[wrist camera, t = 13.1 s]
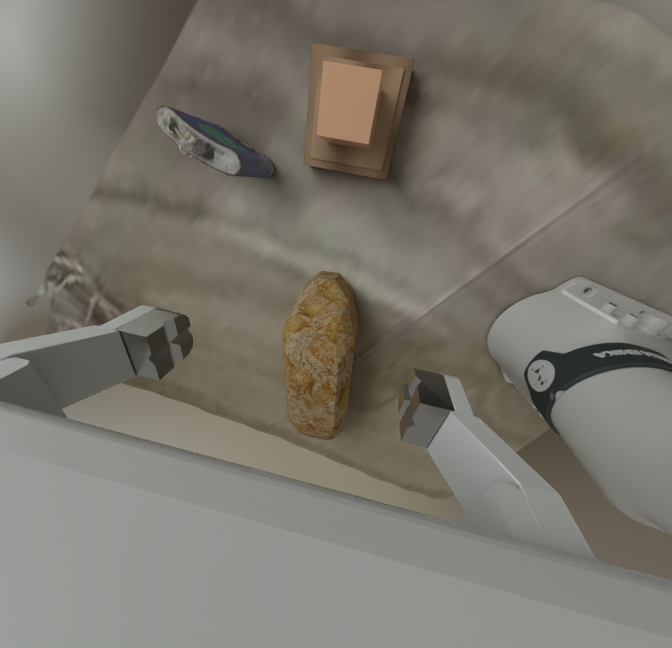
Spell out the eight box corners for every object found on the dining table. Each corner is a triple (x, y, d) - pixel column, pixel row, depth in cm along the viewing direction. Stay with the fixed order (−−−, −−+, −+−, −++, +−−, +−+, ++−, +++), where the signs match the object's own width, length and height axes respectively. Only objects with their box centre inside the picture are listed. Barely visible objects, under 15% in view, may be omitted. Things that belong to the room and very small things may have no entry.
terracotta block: (382, 89, 24) (382, 70, 20) (370, 150, 27) (368, 144, 23) (333, 81, 25) (323, 60, 20) (327, 142, 27) (316, 135, 23)
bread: (295, 267, 38) (270, 291, 30) (363, 275, 37) (358, 302, 29) (299, 416, 57) (284, 458, 48) (345, 425, 56) (339, 469, 47)
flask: (277, 162, 31) (234, 155, 22) (269, 185, 33) (225, 186, 24) (212, 118, 30) (138, 92, 21) (207, 144, 32) (135, 129, 23)
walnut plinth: (412, 69, 25) (415, 58, 23) (386, 180, 30) (386, 180, 28) (318, 54, 26) (312, 41, 23) (309, 165, 31) (303, 164, 29)
